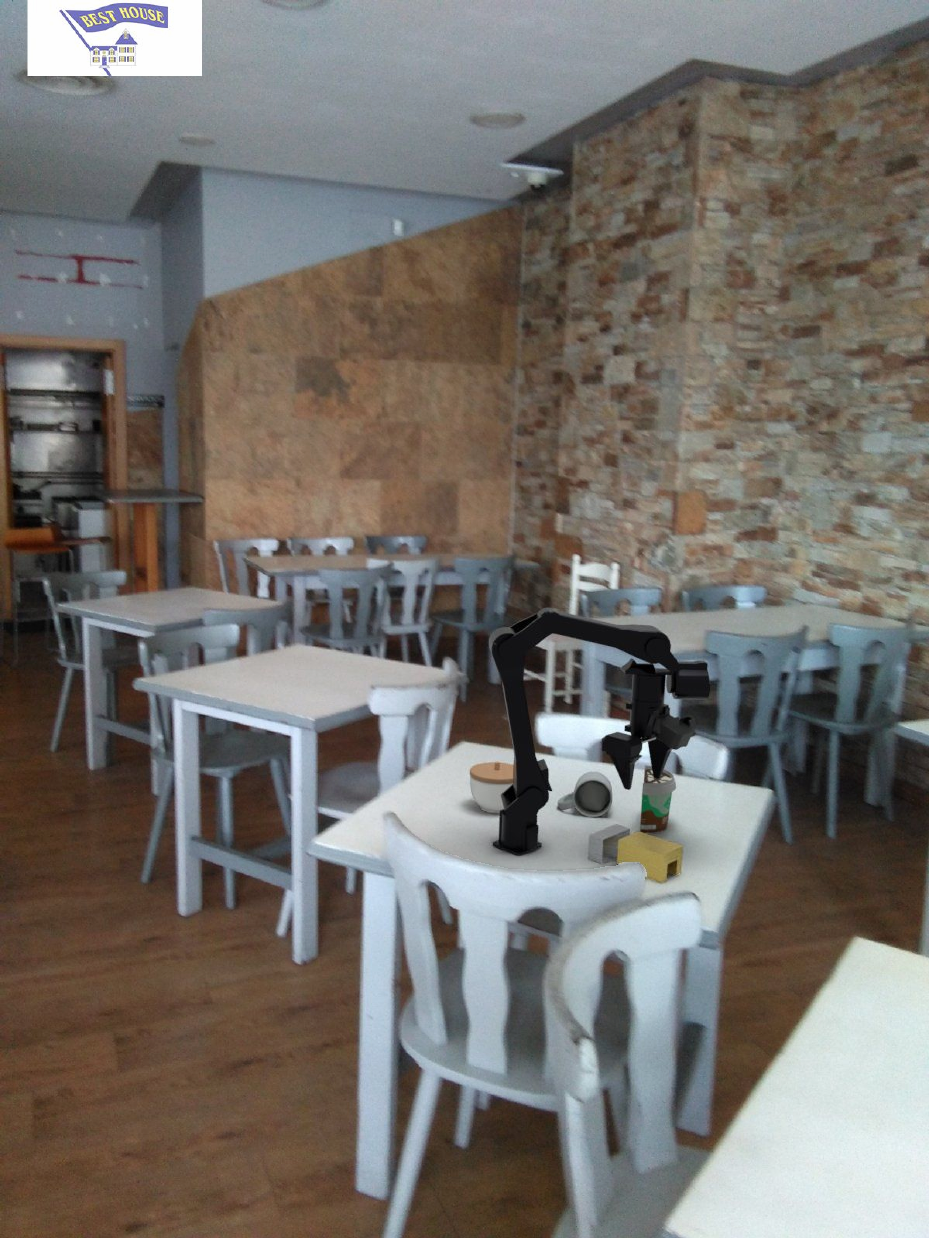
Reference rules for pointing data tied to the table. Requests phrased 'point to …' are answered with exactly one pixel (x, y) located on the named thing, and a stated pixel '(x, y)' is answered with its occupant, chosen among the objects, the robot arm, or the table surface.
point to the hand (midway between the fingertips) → (642, 783)
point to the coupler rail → (606, 843)
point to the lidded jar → (490, 784)
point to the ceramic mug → (589, 795)
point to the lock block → (651, 854)
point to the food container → (656, 800)
